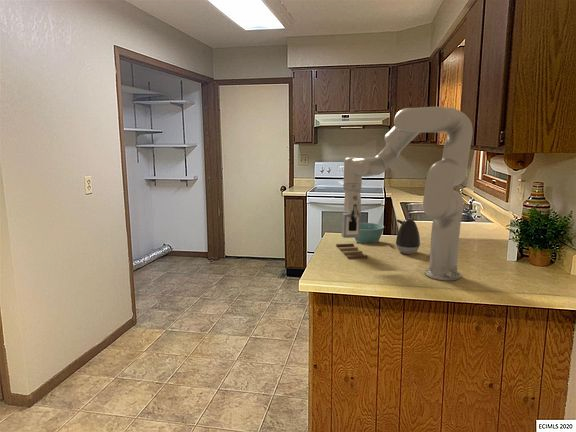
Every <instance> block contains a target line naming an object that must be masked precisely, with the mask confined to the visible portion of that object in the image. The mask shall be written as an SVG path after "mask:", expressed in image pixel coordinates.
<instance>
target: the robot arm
mask: <svg viewBox="0 0 576 432" xmlns="http://www.w3.org/2000/svg"><path fill="white" fill-rule="evenodd" d="M393 118H394V119H393V127H392V128H391V129H390V130H389V131H388V132H387V133H386V134H385V135H384V142H385V146H384V147H383V149H382V150H381V151H380V152H379V153H378V154H377V155H376V156H373V157H372V156H371V157H363V158H362V157H355V156H350V157H345V159H344V160H343V188H342V189H343V191H344V199H343V200H344V201H343V202H344V203H343V206H344V207H343V208H344V213H348V214H350V221H349V231H356V228H357V217H358V215H357V214H359V215H360V214H362V195H361V191H362V181H363V177H373V176H380V175H381V174H383V173H385V172H386V171H387V170H388V169H389V168H390V167H392V166H393V165H394V163H395V162H396V161H397V160H398V158H399V156H400V154H401V152H402V151H403V150H404V149H405V147H407V145H409V144H410V143H411V142H412V141H413V140H414V139H416V137H417V136H418V135H419V134H421V133H422V134H423V133H437V134H439V133H442V134H443V133H445V134H446V135H447V136H446V139H445V143H444V145H443V150H442V157H441V159H440V160H438V161H435V163H433V164H431V166H430V168H429V169H428V171H427V175H426V179H425V180H426V181H425V186H424V192H423V193H424V194H423V200H422V209H423V212H424V214H425V215H426V217H428V218H429V219H431V220H432V225H431V235H430V249H429V252H430V253H429V265H428V266H429V268H426V269H424V275H425V276H427V277H429V278H431V279H434V280H440V281H457V280H460V279H461V277H462V273H461V272H460V271H458V259H459V248H460V247H459V246H460V245H459V244H460V234H461V226H462V225H461V223H462V217H463V213H464V208H465V205H464V203H465V202H464V198H463V195H462V194H461V193H459V192H458V191H457V190H454V188H455V187H457V186H459V185H461V184H462V183H464V181H465V179H466V176H467V170H468V166H469V165H468V164H469V159H470V151H471V144H472V140H473V133H474V131H473V129H474V128H473V124H472V121H471V119H470V117H468V115H466V114H465V113H464V112H463V111H461V110H459V109H457V108H453V107H448V106H427V107H426V106H422V107H421V106H420V107H404V108H402V109H400V110H399V111H398V112H396V114H395V116H394V117H393ZM352 213H354V214H352Z"/></svg>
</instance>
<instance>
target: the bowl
mask: <svg viewBox="0 0 576 432" xmlns="http://www.w3.org/2000/svg"><path fill="white" fill-rule="evenodd" d="M384 229H385V226H384V225H382V224H380V223H373V222H360V237H359V238H354V239H355V241H356V242H357V243H358V244H360V245H361V244H377V243H379V241H380V238H381V236H382V235H383V232H384Z"/></svg>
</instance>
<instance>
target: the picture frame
mask: <svg viewBox="0 0 576 432" xmlns="http://www.w3.org/2000/svg"><path fill="white" fill-rule="evenodd" d="M352 214H354V213H352ZM361 214H362V213H361ZM361 214H360V215H359V214H357V215H358V217H357V228H356V231H349V221H350V214H348V213H346V212H342V213H341V237H342V238H344V239H348V238H351V239H352V238H354V239H355V238H359V237H360V223H362V222H361V221H362V220H361V219H362V216H361Z"/></svg>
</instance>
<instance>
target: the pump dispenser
mask: <svg viewBox="0 0 576 432" xmlns="http://www.w3.org/2000/svg"><path fill="white" fill-rule="evenodd" d="M396 222H397V223H399V224H400V226H399V229H398V232H397V234H396V241H395V244H396V247H397V250H398V251H399V253H402V254H404V255H405V254H406V255H412V254H415V253H417V252H418V250H419V248H420V246H421V239H420V232H419V227H418V225H417V223H416V222H415V220H414V219H412V218H406V219H404V220H401V219H397V220H396Z"/></svg>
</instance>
